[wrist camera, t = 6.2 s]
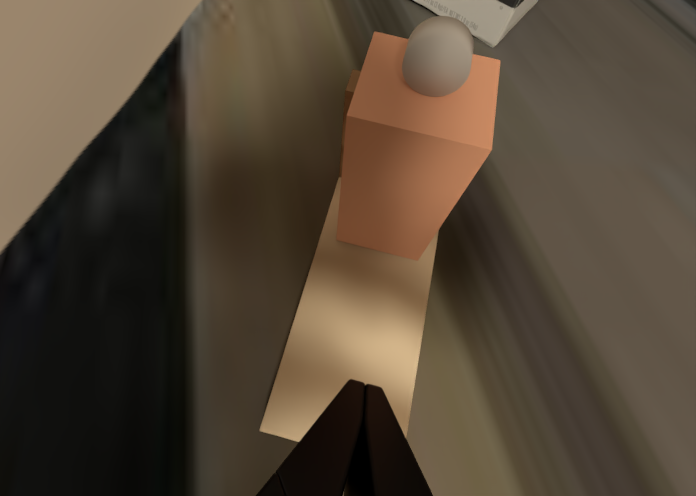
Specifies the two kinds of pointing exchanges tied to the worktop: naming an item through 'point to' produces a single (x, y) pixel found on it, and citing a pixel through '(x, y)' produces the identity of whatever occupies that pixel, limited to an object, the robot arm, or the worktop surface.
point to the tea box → (483, 15)
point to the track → (351, 325)
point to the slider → (414, 136)
